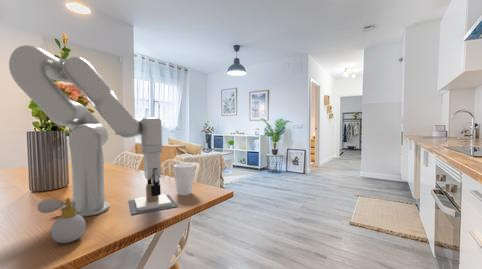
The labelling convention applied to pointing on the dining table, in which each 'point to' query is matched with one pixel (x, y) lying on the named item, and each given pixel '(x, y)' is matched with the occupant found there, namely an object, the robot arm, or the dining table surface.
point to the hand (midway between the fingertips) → (154, 192)
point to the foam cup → (184, 178)
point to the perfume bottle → (64, 220)
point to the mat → (134, 209)
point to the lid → (151, 200)
